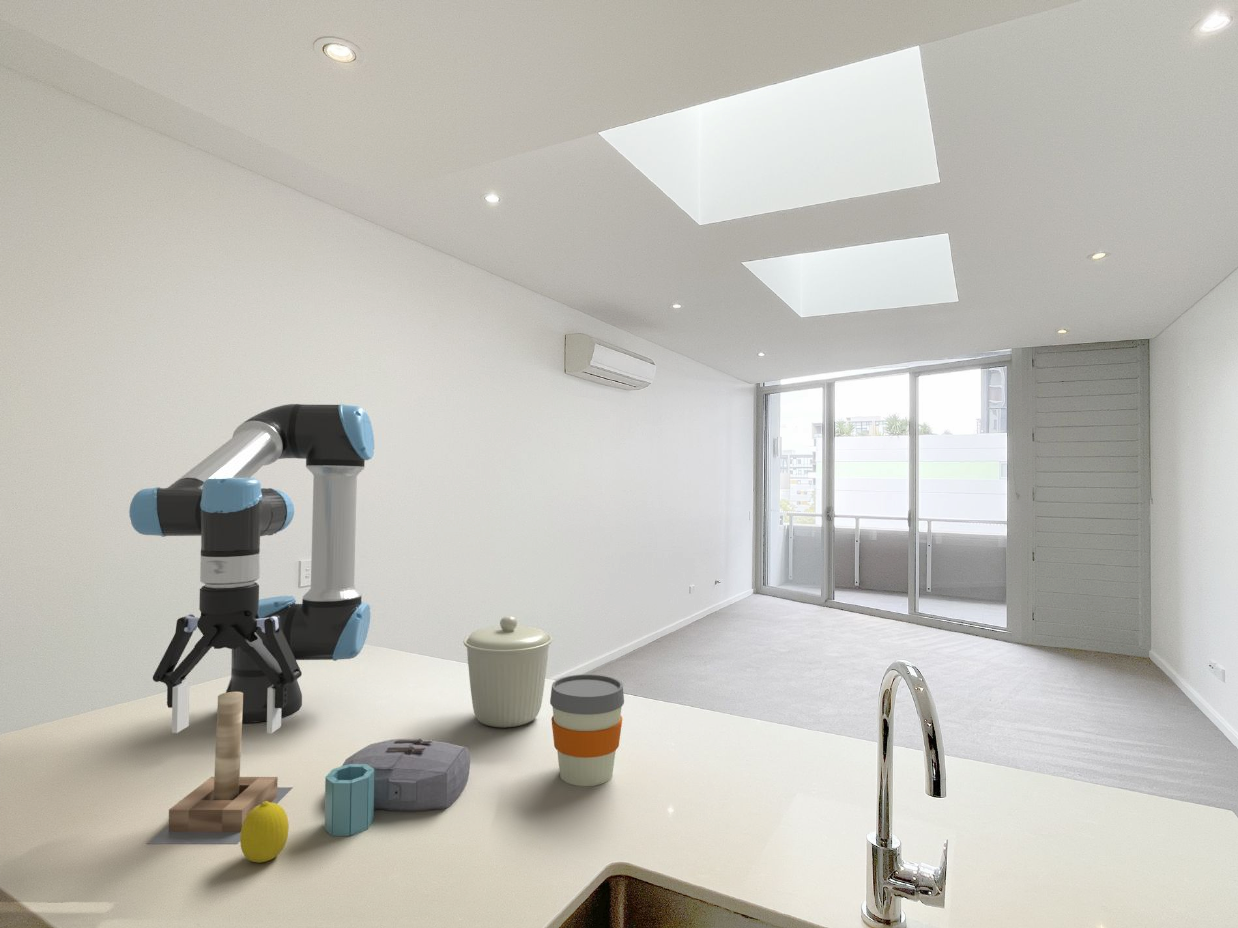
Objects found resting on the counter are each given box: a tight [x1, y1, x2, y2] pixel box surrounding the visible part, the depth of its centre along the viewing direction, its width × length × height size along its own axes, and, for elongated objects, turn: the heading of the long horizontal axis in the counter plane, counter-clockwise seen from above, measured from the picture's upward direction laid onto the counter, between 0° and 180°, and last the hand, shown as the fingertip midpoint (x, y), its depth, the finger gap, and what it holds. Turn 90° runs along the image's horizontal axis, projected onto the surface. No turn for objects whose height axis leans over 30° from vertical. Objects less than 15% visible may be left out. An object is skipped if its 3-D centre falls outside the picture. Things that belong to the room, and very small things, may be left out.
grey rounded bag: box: [341, 738, 471, 812], centre depth 106 cm, size 15×8×20 cm
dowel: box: [213, 692, 243, 800], centre depth 98 cm, size 3×3×17 cm
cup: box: [324, 764, 375, 837], centre depth 95 cm, size 6×6×8 cm
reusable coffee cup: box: [549, 673, 625, 787], centre depth 114 cm, size 13×13×15 cm
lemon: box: [239, 801, 290, 864], centre depth 87 cm, size 6×6×8 cm
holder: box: [168, 776, 278, 832], centre depth 98 cm, size 10×10×3 cm
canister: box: [462, 615, 553, 728], centre depth 138 cm, size 18×18×21 cm
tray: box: [145, 786, 294, 845], centre depth 98 cm, size 16×12×1 cm
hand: (227, 729), depth 98 cm, fingers open, 13 cm apart
